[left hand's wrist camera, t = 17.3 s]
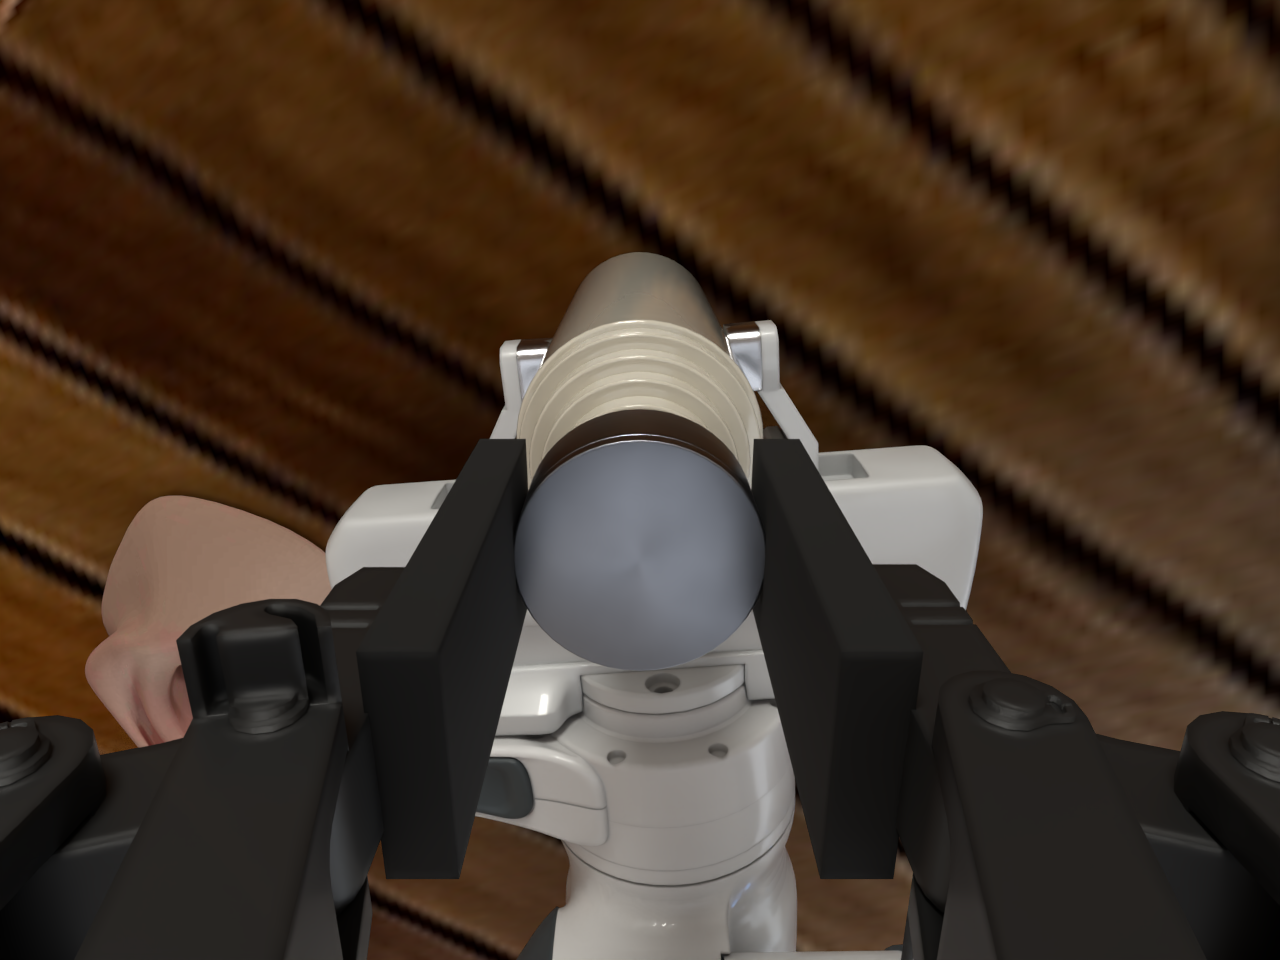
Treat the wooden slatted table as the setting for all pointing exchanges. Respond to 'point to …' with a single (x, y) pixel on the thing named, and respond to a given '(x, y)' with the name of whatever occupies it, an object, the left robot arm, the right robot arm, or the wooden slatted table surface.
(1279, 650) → the wooden slatted table surface
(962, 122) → the wooden slatted table surface
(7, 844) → the left robot arm
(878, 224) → the wooden slatted table surface
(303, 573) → the anatomical model
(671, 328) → the bottle
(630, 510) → the cap
